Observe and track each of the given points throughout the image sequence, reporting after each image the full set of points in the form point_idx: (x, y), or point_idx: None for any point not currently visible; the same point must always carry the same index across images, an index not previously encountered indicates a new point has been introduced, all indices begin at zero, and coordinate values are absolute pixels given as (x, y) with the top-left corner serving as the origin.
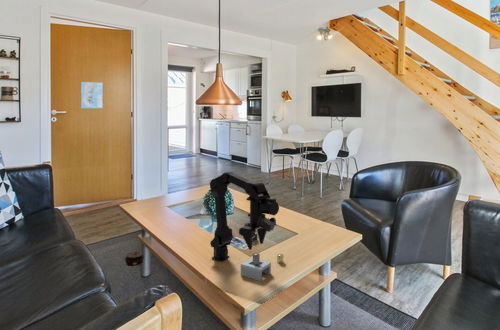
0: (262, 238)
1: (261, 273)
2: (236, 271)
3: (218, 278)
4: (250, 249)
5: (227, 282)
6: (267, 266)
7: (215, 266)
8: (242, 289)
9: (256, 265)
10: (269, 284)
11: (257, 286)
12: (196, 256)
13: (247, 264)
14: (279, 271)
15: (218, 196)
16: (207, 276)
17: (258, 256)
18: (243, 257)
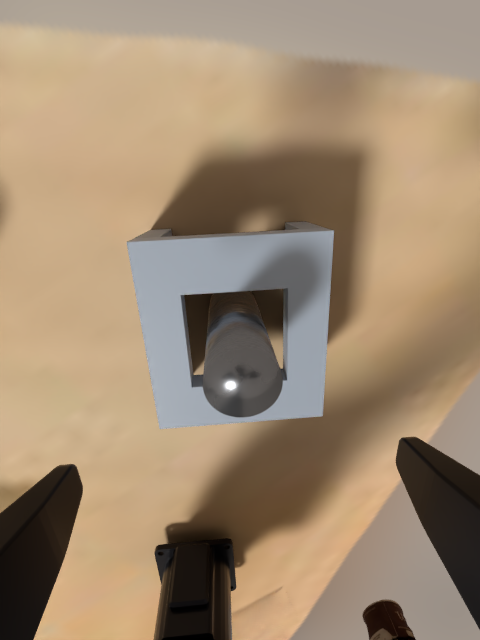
0: (13, 564)
1: (300, 227)
2: None
3: (399, 428)
4: (415, 445)
5: (421, 367)
6: (198, 236)
7: (283, 520)
8: (467, 245)
9: (259, 317)
10: (317, 128)
11: (388, 188)
12: (243, 628)
13: (302, 375)
14: (67, 192)
15: None
16: None
17: (251, 343)
18: None
